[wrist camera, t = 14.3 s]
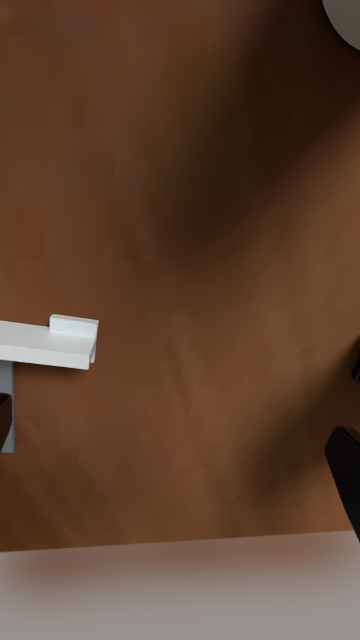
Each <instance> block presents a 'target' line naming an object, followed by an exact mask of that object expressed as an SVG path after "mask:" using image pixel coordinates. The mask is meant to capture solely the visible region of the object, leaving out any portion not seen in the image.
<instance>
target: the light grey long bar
mask: <svg viewBox="0 0 360 640" xmlns="http://www.w3.org/2000/svg"><path fill="white" fill-rule="evenodd" d="M98 322H99V320H92V319H85V318H78V317H71V316H63V315H56V314H52V315H51V317H50V327H44V326H37V325H29V324H22V323H14V322H7V321H0V359H1V360H10V361H18V362H27V363H36V364H45V365H53V366H62V367H71V368H79V369H88V368H89V365H90V363H94V360H95V352H96V342H97V332H98Z"/></svg>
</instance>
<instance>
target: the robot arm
mask: <svg viewBox="0 0 360 640" xmlns="http://www.w3.org/2000/svg"><path fill="white" fill-rule="evenodd" d="M359 376H360V359H359V361H358V363H357V365H356V368H355V370H354V372H353V374H352V379H353V380H354V381H355V382H356V383H360V377H359ZM11 425H12V397H11V395H10V394H9V393H1V392H0V453H1V451H2V448H3V446H4V443H5V441H6V438H7V436H8V434H9V431H10V428H11ZM325 456H326V459H327V462H328V464H329V467H330V470H331V473H332V476H333V478H334V481H335V484H336V487H337V490H338V493H339V495H340V498H341V501H342V503H343V506H344V509H345V511H346V513H347V516H348V518H349V520H350V522H351V524H352V527H353V529H354V531H355V533H356V535H357V538H358V540H359V542H360V433H359V432H358V431H356V430H355V429H353V428H351V427H347V426H336V427H335V428H334V429H333V431H332V433H331V435H330V437H329V439H328V441H327V443H326V445H325Z"/></svg>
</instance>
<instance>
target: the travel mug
mask: <svg viewBox="0 0 360 640" xmlns="http://www.w3.org/2000/svg"><path fill="white" fill-rule="evenodd" d="M322 1H323V5H324V8H325V10H326V13H327V15H328V17H329V19H330V21H331V23H332V25H333V27H334V28H335V29H336V31H337V32H338V33H339V35H340V36H341V37H342V38H343V39H344V40H345V41H346V42H347V43H349V44H350V45H352V46H353V47H355V48H357V49H359V50H360V0H322Z"/></svg>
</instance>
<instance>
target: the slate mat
mask: <svg viewBox="0 0 360 640" xmlns="http://www.w3.org/2000/svg"><path fill="white" fill-rule="evenodd" d="M0 392H1V393H9V394H10V395H11V397H12V425H11V428H10V431H9V434H8V436H7V438H6V441H5V443H4V446H3V448H2V451H1V452H4V453H13V452H14V450H15V423H14V361H10V360H1V359H0Z"/></svg>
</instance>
